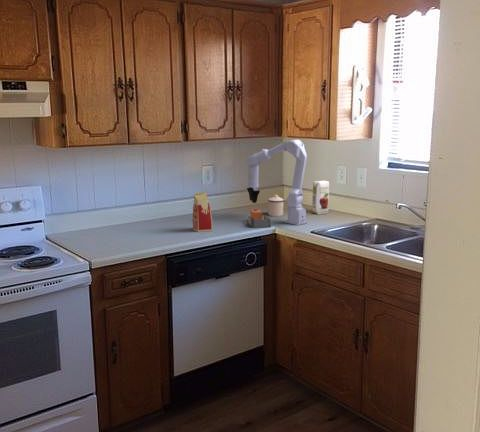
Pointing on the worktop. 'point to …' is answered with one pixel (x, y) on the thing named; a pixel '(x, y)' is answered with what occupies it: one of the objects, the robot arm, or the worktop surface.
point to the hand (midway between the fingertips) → (253, 201)
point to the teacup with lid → (275, 206)
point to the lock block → (256, 214)
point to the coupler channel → (259, 222)
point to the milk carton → (201, 213)
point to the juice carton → (320, 197)
